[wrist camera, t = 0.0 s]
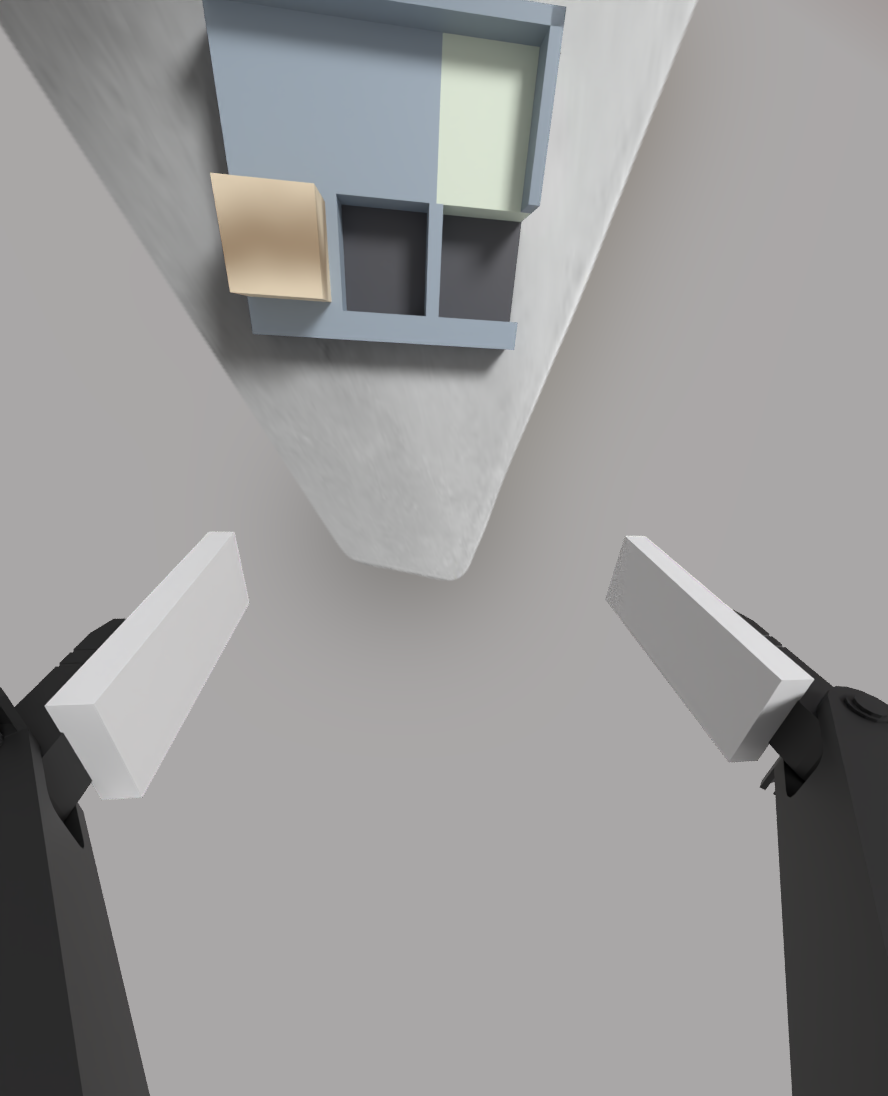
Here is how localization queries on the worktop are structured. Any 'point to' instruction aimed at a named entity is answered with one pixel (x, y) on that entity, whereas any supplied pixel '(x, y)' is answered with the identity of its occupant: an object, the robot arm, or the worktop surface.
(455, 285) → the tray
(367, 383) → the worktop surface
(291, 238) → the block
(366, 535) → the worktop surface
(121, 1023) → the robot arm
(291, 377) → the worktop surface
